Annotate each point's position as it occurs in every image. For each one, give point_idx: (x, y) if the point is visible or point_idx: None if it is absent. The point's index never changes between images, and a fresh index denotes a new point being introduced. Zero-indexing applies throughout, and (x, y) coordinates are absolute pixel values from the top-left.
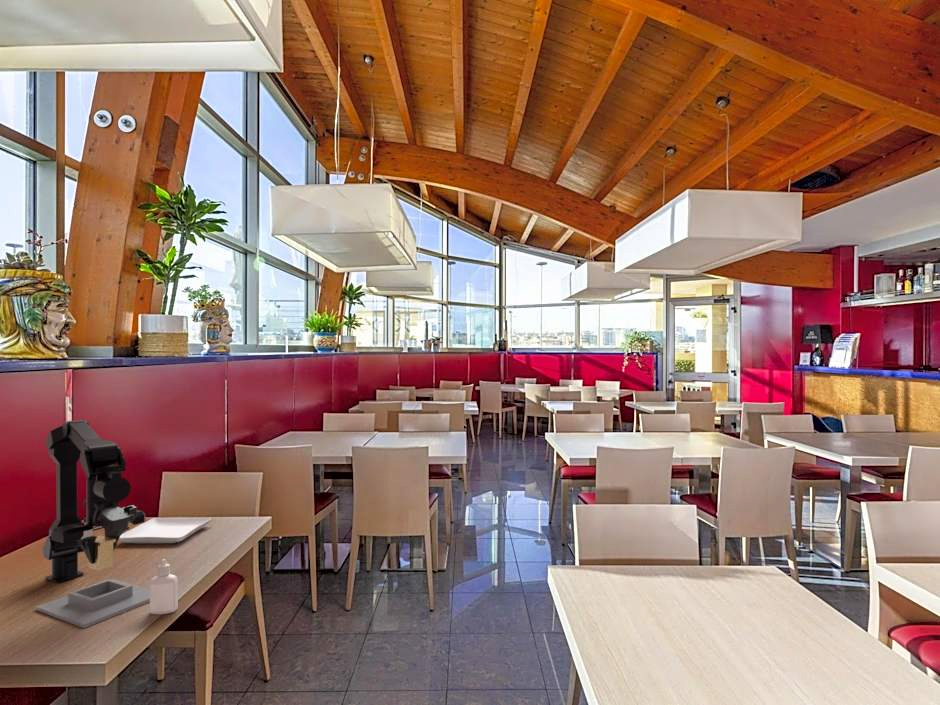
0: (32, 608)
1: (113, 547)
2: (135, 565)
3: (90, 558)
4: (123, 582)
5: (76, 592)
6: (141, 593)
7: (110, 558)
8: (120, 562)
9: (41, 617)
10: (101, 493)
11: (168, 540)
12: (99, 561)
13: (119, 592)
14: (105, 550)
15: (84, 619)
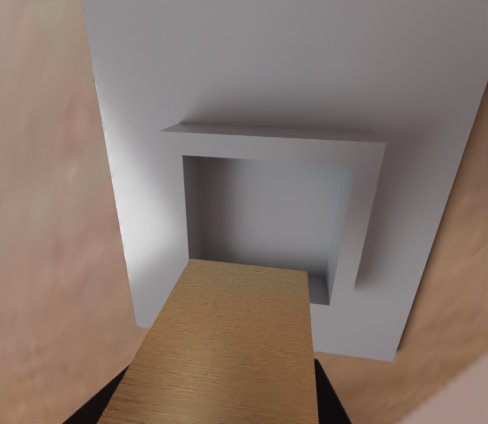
0: (381, 368)
1: (95, 417)
2: (49, 364)
3: (340, 417)
4: (133, 280)
5: (323, 303)
6: (143, 109)
7: (190, 308)
8: (69, 409)
9: (433, 290)
10: None
11: None
12: (296, 325)
13: (231, 132)
14: (216, 414)
15: (453, 71)
